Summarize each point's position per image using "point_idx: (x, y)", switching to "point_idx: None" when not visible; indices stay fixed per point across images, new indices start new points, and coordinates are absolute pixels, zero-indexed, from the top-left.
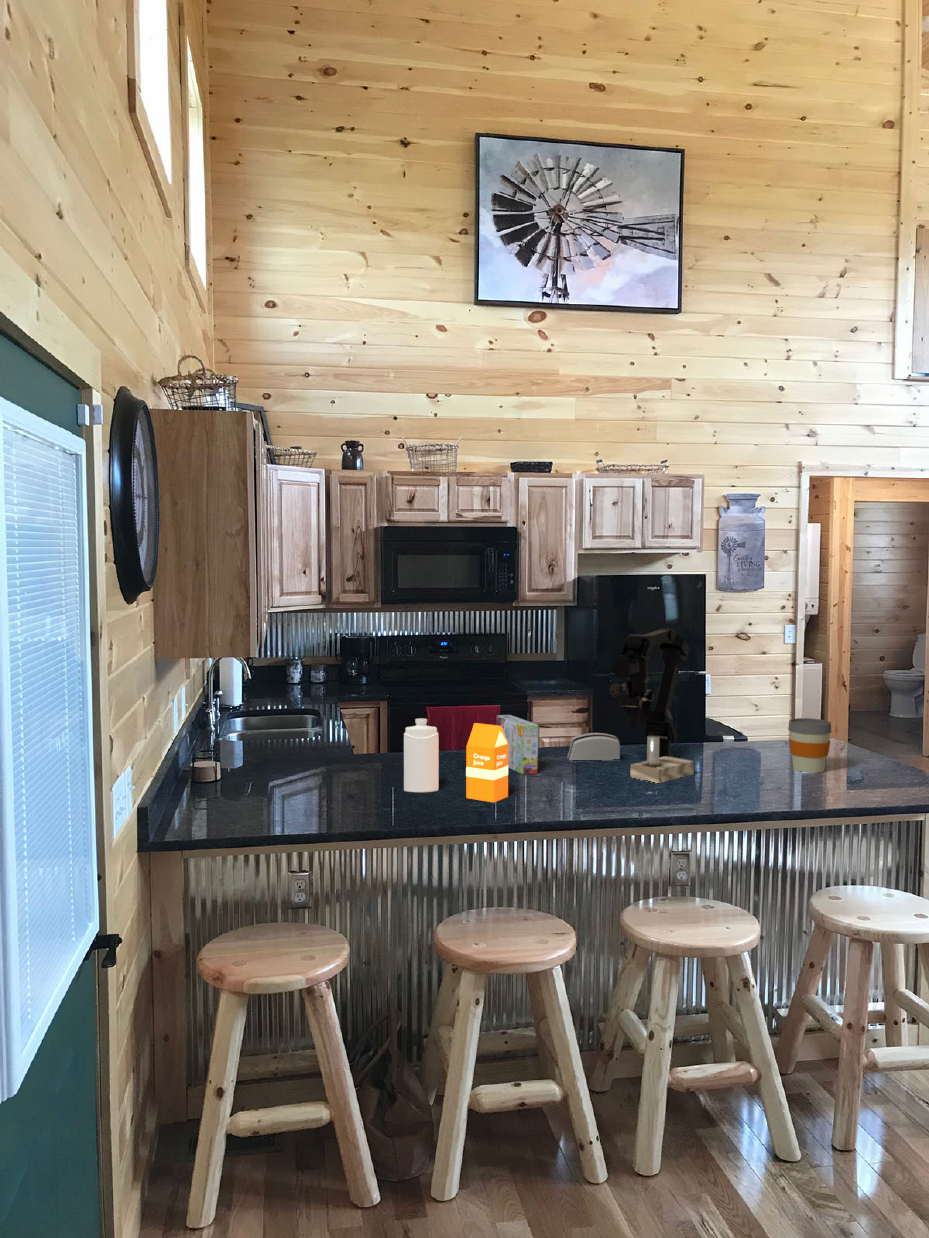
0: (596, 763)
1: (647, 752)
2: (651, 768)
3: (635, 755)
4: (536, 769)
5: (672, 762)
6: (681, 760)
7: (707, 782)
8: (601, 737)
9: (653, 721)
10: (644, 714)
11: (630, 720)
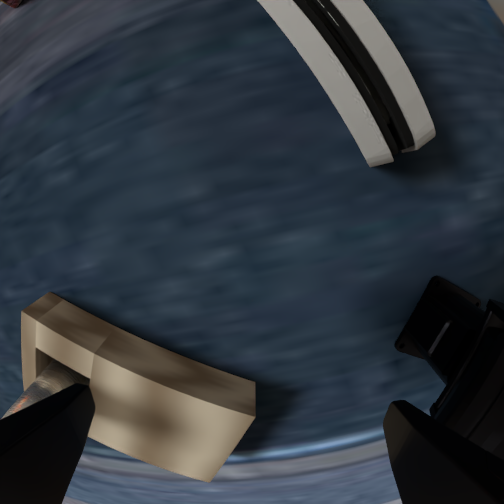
0: (241, 78)
1: (20, 397)
2: (24, 380)
3: (467, 216)
4: (7, 4)
5: (144, 440)
6: (196, 460)
7: (137, 469)
8: (307, 39)
9: (495, 415)
10: (409, 496)
11: (25, 420)
